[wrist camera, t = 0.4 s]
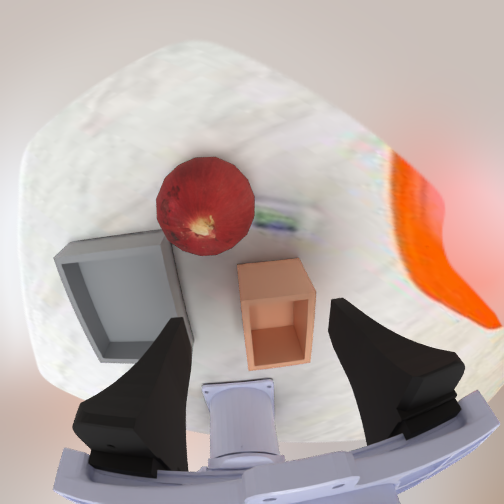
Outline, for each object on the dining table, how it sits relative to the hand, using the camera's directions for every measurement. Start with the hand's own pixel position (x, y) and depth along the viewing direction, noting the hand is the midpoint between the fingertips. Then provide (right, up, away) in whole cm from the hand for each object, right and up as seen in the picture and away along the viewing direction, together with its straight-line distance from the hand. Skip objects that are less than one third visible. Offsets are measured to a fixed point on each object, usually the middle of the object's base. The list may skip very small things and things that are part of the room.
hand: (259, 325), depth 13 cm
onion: (-3, +8, +7) cm, 11 cm away
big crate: (-11, 0, +10) cm, 14 cm away
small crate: (+1, 0, +11) cm, 11 cm away
